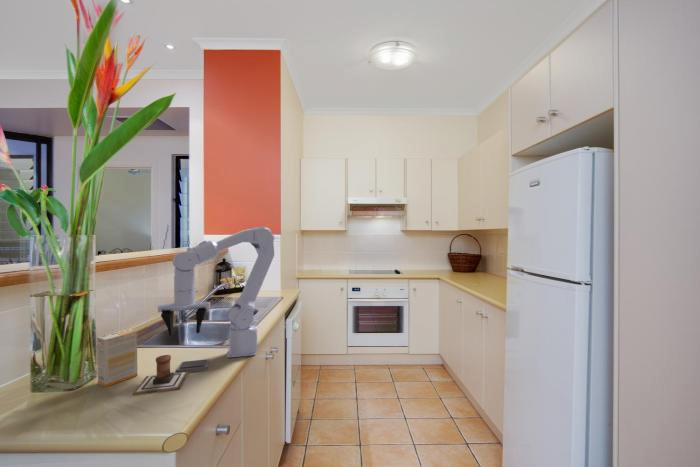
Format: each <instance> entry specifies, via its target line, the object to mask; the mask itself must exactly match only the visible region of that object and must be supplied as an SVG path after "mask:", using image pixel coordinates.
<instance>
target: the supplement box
mask: <svg viewBox="0 0 700 467" xmlns="http://www.w3.org/2000/svg"><path fill="white" fill-rule="evenodd" d="M96 351H97V352H96V355H97V361H96V362H97V384H99V385H101V386H103V387H105V388H108V387H110V386H112V385H116V384H118V383H121V382H123V381H126V380H128V379H131V378H134V377H136V376H138V331H137V330H133V329H130V328H128V329H123V330H120V331H119V330H118V331H115V332H111V333H107V334H101V335H99V336H96Z"/></svg>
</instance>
